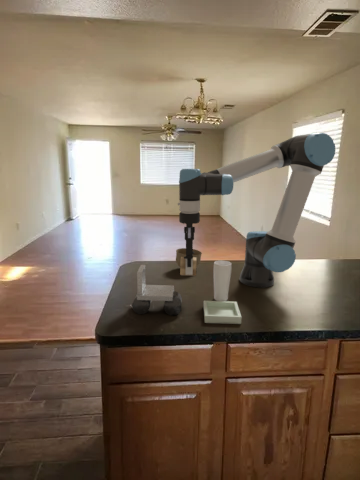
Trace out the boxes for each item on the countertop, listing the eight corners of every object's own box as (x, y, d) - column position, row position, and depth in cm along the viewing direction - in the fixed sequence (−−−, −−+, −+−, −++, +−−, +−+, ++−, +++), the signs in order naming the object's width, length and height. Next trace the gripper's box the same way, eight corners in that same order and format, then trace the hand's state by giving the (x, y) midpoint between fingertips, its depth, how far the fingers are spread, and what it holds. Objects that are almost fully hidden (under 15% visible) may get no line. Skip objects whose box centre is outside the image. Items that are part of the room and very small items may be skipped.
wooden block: (195, 272, 123) (196, 257, 121) (196, 275, 119) (196, 260, 117) (180, 271, 123) (180, 256, 121) (180, 275, 119) (180, 260, 118)
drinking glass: (218, 304, 118) (220, 266, 115) (208, 297, 124) (210, 261, 121) (233, 301, 121) (235, 264, 118) (222, 294, 127) (224, 259, 124)
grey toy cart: (181, 304, 117) (182, 265, 114) (180, 317, 108) (181, 274, 104) (136, 303, 118) (135, 263, 114) (131, 315, 108) (130, 272, 104)
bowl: (201, 274, 150) (202, 254, 148) (175, 274, 150) (175, 254, 148) (200, 266, 162) (201, 247, 160) (175, 265, 162) (176, 247, 160)
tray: (236, 307, 116) (236, 301, 115) (241, 324, 104) (241, 317, 103) (203, 306, 116) (203, 300, 116) (204, 322, 104) (205, 315, 104)
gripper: (180, 208, 124) (180, 265, 129) (178, 215, 107) (178, 280, 113) (199, 208, 123) (198, 265, 129) (200, 215, 107) (199, 280, 112)
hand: (189, 272), depth 121 cm, fingers closed on wooden block, 4 cm apart
